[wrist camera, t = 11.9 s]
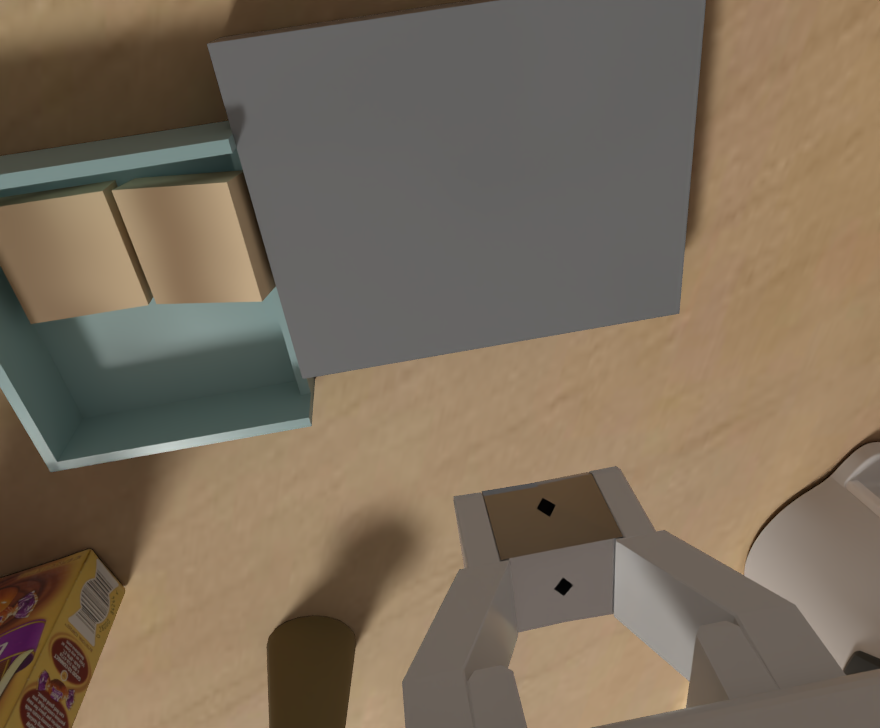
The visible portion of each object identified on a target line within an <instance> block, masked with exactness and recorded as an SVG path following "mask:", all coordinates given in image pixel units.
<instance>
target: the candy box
mask: <svg viewBox="0 0 880 728" xmlns="http://www.w3.org/2000/svg"><path fill="white" fill-rule="evenodd" d="M124 594H125V588H124V587H123V586H122V585H121V583H120V582H119V581H118V580H117V579H116V578H115V576H114V575H113V574H112V573H111V572H110V570H109V569H108V568H107V567H106V566H105V565H104V564H103V562H102V561H101V560H99V558H98V557H97V556H96V554H95V553H94V552H93V550H91V549H87V550H84V551H81V552H79V553H75V554H73V555H71V556H68V557H65V558H62V559H59V560H56V561H53V562H49V563H46V564H44V565H40V566H37V567H34V568H31V569H28V570H25V571H21V572H18V573H16V574H12V575H9V576H6V577H3V578H0V728H72V725H73V723H74V720H75V718H76V716H77V713H78V710H79V708H80V706H81V703H82V701H83V698H84V696H85V693H86V691H87V688H88V685H89V683H90V680H91V678H92V675H93V673H94V670H95V668H96V665H97V662H98V660H99V657H100V655H101V652H102V650H103V647H104V645H105V642H106V640H107V637H108V634H109V632H110V629H111V627H112V624H113V622H114V619H115V616H116V614H117V611H118V609H119V606H120V604H121V601H122V599H123V596H124Z"/></svg>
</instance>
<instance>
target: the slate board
mask: <svg viewBox="0 0 880 728" xmlns="http://www.w3.org/2000/svg"><path fill="white" fill-rule="evenodd" d="M705 5H706V0H468V1H462V2H455V3H448V4H441V5H435V6H428V7H421V8H415V9H408V10H401V11H394V12H388V13H381V14H374V15H368V16H361V17H354V18H347V19H341V20H334V21H327V22H321V23H314V24H307V25H300V26H294V27H287V28H280V29H273V30H267V31H260V32H253V33H247V34H240V35H233V36H226V37H221V38H218V39H216V40H214V41H212V42H210V43H208V44H207V46H208V50H209V53H210V57H211V60H212V64H213V67H214V71H215V74H216V78H217V81H218V85H219V88H220V92H221V95H222V99H223V102H224V106H225V109H226V113H227V116H228V120H229V123H230V127H231V130H232V134H233V137H234V141H235V144H236V148H237V151H238V155H239V158H240V162H241V165H242V169H243V172H244V176H245V179H246V183H247V186H248V190H249V193H250V197H251V200H252V204H253V207H254V211H255V214H256V218H257V221H258V225H259V228H260V232H261V235H262V239H263V242H264V246H265V249H266V253H267V256H268V260H269V263H270V267H271V270H272V274H273V277H274V281H275V284H276V288H277V291H278V295H279V298H280V302H281V305H282V309H283V312H284V316H285V319H286V323H287V326H288V330H289V333H290V337H291V340H292V344H293V347H294V351H295V354H296V358H297V361H298V365H299V368H300V372H301V375H302V379H305V378H311V377H317V376H323V375H328V374H334V373H340V372H346V371H351V370H357V369H363V368H369V367H374V366H380V365H386V364H392V363H397V362H403V361H409V360H415V359H420V358H426V357H432V356H438V355H444V354H449V353H455V352H461V351H467V350H472V349H478V348H484V347H490V346H495V345H501V344H507V343H513V342H518V341H524V340H530V339H536V338H541V337H547V336H553V335H559V334H564V333H570V332H576V331H582V330H587V329H593V328H599V327H605V326H610V325H616V324H622V323H628V322H633V321H639V320H645V319H651V318H656V317H662V316H668V315H674V314H679V311H680V299H681V287H682V275H683V264H684V252H685V240H686V228H687V217H688V205H689V193H690V181H691V169H692V158H693V146H694V134H695V122H696V111H697V99H698V87H699V75H700V64H701V52H702V40H703V28H704V17H705Z"/></svg>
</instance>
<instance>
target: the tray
mask: <svg viewBox="0 0 880 728" xmlns="http://www.w3.org/2000/svg"><path fill="white" fill-rule="evenodd" d="M240 170H243V169H242V165H241V162H240V158H239V155H238V151H237V148H236V144H235V141H234V137H233V134H232V130H231V127H230V123H229V121H223V122H217V123H210V124H204V125H198V126H191V127H185V128H178V129H172V130H165V131H159V132H152V133H146V134H139V135H133V136H126V137H120V138H114V139H107V140H101V141H94V142H88V143H81V144H75V145H68V146H62V147H55V148H49V149H42V150H36V151H30V152H23V153H17V154H10V155H4V156H0V197H7V196H14V195H20V194H27V193H33V192H40V191H46V190H53V189H60V188H66V187H73V186H79V185H86V184H93V183H99V182H106V181H112V180H115V181H116V184H117V186H118V187H119V186H121V185H123V184H125V183H127V182H129V181H131V180H132V179H134V178H144V177H158V176H171V175H185V174H199V173H212V172H226V171H240ZM314 385H315V379H314V377H311V378H305V379H302V375H301V372H300V368H299V365H298V361H297V358H296V354H295V351H294V347H293V344H292V340H291V337H290V333H289V330H288V326H287V323H286V319H285V316H284V312H283V309H282V305H281V302H280V298H279V295H278V291H277V288H276V287H275V288H274V289H273V290H272V291H271V292H270V293H269V295H268V296H267V297H266V298H265V299H264V300H263V301H262V302H225V303H183V304H156V302H155V299H154V297H153V299H152V300H151V302H150V304H149V305H146V306H140V307H134V308H128V309H122V310H116V311H109V312H103V313H97V314H91V315H85V316H78V317H72V318H66V319H60V320H54V321H47V322H41V323H35V324H31V323H30V321H29V320H28V318H27V316H26V314H25V312H24V310H23V308H22V306H21V304H20V302H19V300H18V298H17V297H16V295H15V293H14V291H13V289H12V287H11V285H10V283H9V281H8V279H7V277H6V275H5V274H4V272H3V270H2V268H1V266H0V387H1V389H2V391H3V393H4V394H5V396H6V398H7V399H8V401H9V403H10V404H11V406H12V408H13V409H14V411H15V413H16V415H17V416H18V418H19V420H20V421H21V423H22V425H23V426H24V428H25V430H26V431H27V433H28V435H29V436H30V438H31V440H32V442H33V443H34V445H35V447H36V448H37V450H38V452H39V453H40V455H41V457H42V458H43V460H44V462H45V463H46V465H47V467H48V469H49V470H50V472H55V471H61V470H67V469H72V468H78V467H83V466H89V465H95V464H100V463H106V462H112V461H117V460H123V459H129V458H134V457H140V456H145V455H151V454H157V453H162V452H168V451H174V450H179V449H185V448H191V447H196V446H202V445H208V444H213V443H219V442H224V441H230V440H236V439H241V438H247V437H253V436H258V435H264V434H270V433H275V432H281V431H287V430H292V429H298V428H303V427H309V426H312V413H313V399H314Z"/></svg>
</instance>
